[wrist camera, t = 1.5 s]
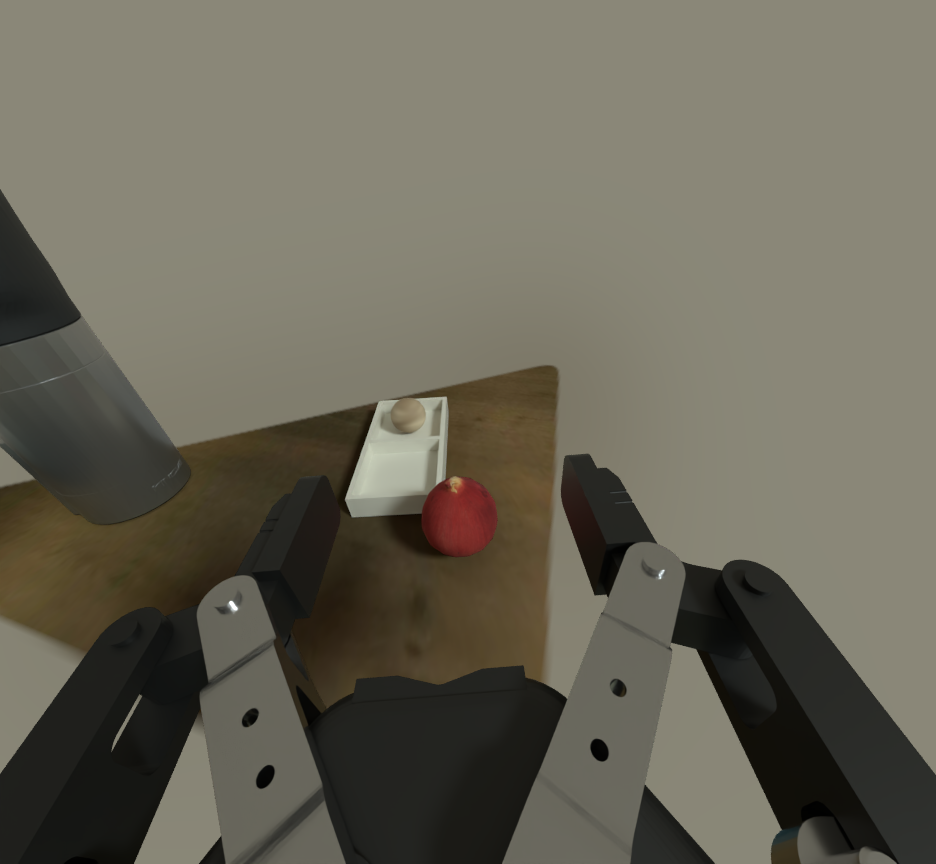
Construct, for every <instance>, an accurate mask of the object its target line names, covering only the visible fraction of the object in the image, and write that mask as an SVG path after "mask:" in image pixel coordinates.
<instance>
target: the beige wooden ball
mask: <svg viewBox="0 0 936 864" xmlns="http://www.w3.org/2000/svg"><path fill="white" fill-rule="evenodd" d="M425 419H426V412H425V409H424V407H423V405H422V404H421V403H420V402H419V401H417V400H416V399H413V398H403V399H401V400H399V401H397V402H396V403H395V404H394V406H393V407H392V410H391V421H392V423H393V425H394V426H395V427H396V428H397V429H398V430H400V431H402V432H406V433H411V432H415V431H417V430H418V429H420V428H421V427H422V426H423V424H424V422H425Z"/></svg>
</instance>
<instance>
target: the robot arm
mask: <svg viewBox="0 0 936 864" xmlns="http://www.w3.org/2000/svg"><path fill="white" fill-rule="evenodd" d="M0 447H1V448H2V449H4V450H5V451H6V452H7V453H8V454H9V455H10V456H11V457H12V458H13V459H14V460H16V461H17V462H18V463H19V464H20V465H21V466H22V467H23V468H24V469H25V470H26V471H28V472H29V473H30V474H31V475H32V476H33V477H34V478H35V479H36V480H37V481H38V482H39V483H40V484H42V485H43V486H44V487H45V488H46V489H47V490H48V491H49V492H50V493H51V494H52V495H54V496H55V497H56V498H57V499H58V500H59V501H60V502H61V503H62V504H63V505H64V506H65V507H67V508H68V509H69V510H70V511H71V512H72V513H73V514H75V515H76V514H81V515H82V516H83V517H84V518H85V519H86V520H87V521H89V522H91V523H94V524H112V523H118V522H122V521H126V520H129V519H132V518H135V517H137V516H140V515H142V514H145V513H147V512H149V511H151V510H152V509H154V508H156V507H158V506H160V505H161V504H163V503H164V502H166V501H167V500H169V499H170V498H171V497H173V496H174V495H175V494H176V493H177V492H178V491H179V490H180V489H181V488H182V487H183V486H184V485H185V484H186V482H187V481H188V479H189V476H190V471H191V470H190V467H189V465H188V464H187V463H186V461H185V460H184V458H183V457H182V455H181V454H180V453H179V451H178V450H177V448H176V447H175V446H174V444H173V443H172V442H171V440H170V438H169V437H168V436H167V434H166V433H165V431H164V430H163V429H162V427H161V426H160V424H159V423H158V421H157V420H156V419H155V417H154V416H153V414H152V413H151V412H150V410H149V409H148V407H147V406H146V405H145V403H144V402H143V400H142V399H141V398H140V396H139V395H138V394H137V392H136V391H135V389H134V388H133V387H132V385H131V384H130V382H129V381H128V380H127V378H126V377H125V375H124V374H123V372H122V371H121V370H120V368H119V367H118V365H117V364H116V363H115V361H114V360H113V358H112V357H111V356H110V354H109V353H108V351H107V350H106V349H105V347H104V346H103V345H102V343H101V342H100V340H99V339H98V338H97V336H96V335H95V333H94V332H93V331H92V329H91V328H90V326H89V325H88V323H87V322H86V321H85V319H84V318H83V317H82V316H81V314H80V312H79V311H78V309H77V308H76V306H75V305H74V304H73V302H72V301H71V299H70V298H69V296H68V295H67V293H66V291H65V289H64V288H63V286H62V285H61V283H60V281H59V280H58V277H57V276H56V274H55V272H54V271H53V269H52V268H51V266H50V265H49V263H48V262H47V260H46V259H45V257H44V256H43V254H42V253H41V251H40V250H39V249H38V247H37V246H36V244H35V243H34V241H33V240H32V238H31V237H30V236H29V234H28V232H27V231H26V229H25V228H24V226H23V224H22V223H21V221H20V220H19V218H18V217H17V215H16V214H15V212H14V210H13V209H12V207H11V206H10V204H9V203H8V201H7V199H6V198H5V196H4V194H3V193H2V191H1V190H0ZM561 498H562V504H563V507H564V510H565V513H566V516H567V518H568V521H569V524H570V527H571V530H572V533H573V536H574V538H575V541H576V544H577V547H578V550H579V552H580V555H581V558H582V561H583V564H584V566H585V569H586V572H587V575H588V578H589V580H590V583H591V586H592V589H593V592H594V595H606V594H607V597H608V601H607V603H606V606H605V608H604V611H603V613H601V615H600V617H599V620H598V622H597V625H596V628H595V630H594V632H593V635H592V638H591V640H590V643H589V645H588V648H587V651H586V653H585V656H584V658H583V661H582V663H581V666H580V669H579V671H578V674H577V676H576V679H575V681H574V684H573V686H572V689H571V691H570V694H569V697H568V699H567V698H566V697H565V696H563V695H562V694H560V693H559V692H558V691H556V690H555V689H553V688H551V687H549V686H547V685H546V684H544V683H541V682H538V681H536V680H533V679H529V678H525V672H524V666H511V667H499V668H486V669H481V670H478V671H476V672H473V673H470V674H468V675H465V676H463V677H460V678H458V679H455V680H452V681H450V682H447V683H445V684H441V685H436V684H431V683H427V682H423V681H418V680H414V679H410V678H405V677H401V676H388V677H376V678H363V679H357V680H356V685H355V690H354V693H352V694H350V695H348V696H346V697H344V698H342V699H340V700H339V701H337V702H336V703H334V704H333V705H331V706H330V707H329V708H328V709H326V707H325V705H324V703H323V701H322V699H321V698H320V696H319V694H318V692H317V690H316V688H315V686H314V684H313V682H312V679H311V677H310V674H309V672H308V669H307V667H306V664H305V662H304V659H303V657H302V655H301V652H300V650H299V647H298V645H297V642H296V640H295V637H294V635H293V633H292V631H291V629H292V626H293V623H294V621H295V619H299V618H310V615H311V612H312V609H313V605H314V602H315V599H316V596H317V593H318V590H319V587H320V584H321V581H322V578H323V574H324V571H325V568H326V565H327V562H328V559H329V556H330V553H331V550H332V546H333V543H334V540H335V537H336V534H337V531H338V528H339V524H340V508H339V505H338V503H337V500H336V498H335V495H334V493H333V490H332V488H331V485H330V483H329V480H328V478H327V477H326V476H325V475H322V476H310V477H301V478H300V479H299V480H298V482H297V484H296V486H295V488H294V490H293V492H292V494H285V495H284V496H283V497H282V498H281V499H280V500H279V501H278V502H277V503H276V504H275V505H274V506H273V507H272V509H271V511H270V512H269V514H268V516H267V518H266V522H264V523H263V525H262V527H261V529H260V533H258V534H257V536H256V538H255V540H254V542H253V543H252V545H251V547H250V549H249V551H248V552H247V554H246V556H245V558H244V560H243V562H242V563H241V565H240V567H239V569H238V571H237V573H236V574H235V576H234V577H232V578H229V579H227V580H225V581H223V582H221V583H220V584H218V585H217V586H215V587H214V588H213V589H212V590H211V591H209V592H208V594H207V595H206V596H205V597H204V598H203V600H202V601H201V603H200V604H198V605H195V606H192V607H190V608H187V609H184V610H181V611H179V612H176V613H173V614H170V615H167V616H164V615H163V614H162V613H161V612H160V611H159V610H158V609H156V608H152V607H145V608H141V609H137V610H134V611H132V612H130V613H128V614H126V615H124V616H123V617H121V618H120V619H118V620H117V621H115V622H114V623H113V624H111V625H110V626H109V627H108V628H107V629H106V630H105V631H104V632H103V633H102V634H101V635H100V636H99V638H98V639H97V640H96V642H95V643H94V644H93V646H92V647H91V649H90V650H89V651H88V653H87V654H86V655H85V657H84V658H83V660H82V661H81V662H80V664H79V665H78V667H77V668H76V669H75V671H74V672H73V674H72V675H71V676H70V678H69V679H68V681H67V682H66V684H65V685H64V686H63V688H62V689H61V690H60V692H59V693H58V695H57V696H56V697H55V699H54V700H53V702H52V703H51V704H50V706H49V707H48V708H47V710H46V711H45V712H44V714H43V715H42V717H41V718H40V720H39V721H38V722H37V724H36V725H35V726H34V728H33V729H32V731H31V732H30V733H29V735H28V736H27V737H26V739H25V740H24V742H23V743H22V744H21V746H20V747H19V749H18V750H17V751H16V753H15V754H14V756H13V757H12V759H11V760H10V761H9V762H8V764H7V765H6V767H5V768H4V769H3V771H2V772H1V774H0V864H134V862H135V860H136V857H137V855H138V853H139V850H140V848H141V845H142V843H143V841H144V839H145V836H146V834H147V832H148V829H149V827H150V824H151V822H152V820H153V818H154V815H155V813H156V811H157V808H158V806H159V804H160V801H161V799H162V797H163V794H164V792H165V789H166V787H167V785H168V782H169V780H170V778H171V775H172V773H173V771H174V768H175V766H176V764H177V761H178V759H179V757H180V754H181V752H182V749H183V747H184V745H185V743H186V740H187V738H188V736H189V733H190V731H191V729H192V726H193V724H194V722H195V719H196V717H197V715H198V712H199V710H200V707H201V712H202V718H203V724H204V730H205V737H206V742H207V749H208V755H209V762H210V767H211V774H212V780H213V787H214V792H215V799H216V805H217V812H218V817H219V824H220V830H221V837H220V838H219V839H218V841H217V842H216V843H215V844H214V845H213V847H212V848H211V849H210V851H209V852H208V853H207V854H206V856H205V857H204V858H203V859H202V861H201V862H200V863H199V864H715V863H714V862H713V861H712V859H711V858H710V857H709V856H708V855H707V854H706V853H705V852H704V850H703V849H702V848H701V847H700V846H699V845H698V844H697V843H696V842H695V840H694V839H693V838H692V837H691V836H690V835H689V834H688V833H687V831H686V830H685V829H684V828H683V827H682V826H681V825H680V823H679V822H678V821H677V820H676V819H675V818H674V817H673V816H672V815H671V813H670V812H669V811H668V810H667V809H666V808H665V807H664V806H663V804H662V803H661V802H660V801H659V800H658V799H657V798H656V796H654V794H653V793H652V792H651V791H650V790H649V789H648V787H646V785H645V780H646V776H647V771H648V766H649V762H650V757H651V752H652V748H653V743H654V738H655V733H656V729H657V724H658V719H659V715H660V710H661V706H662V701H663V696H664V692H665V686H666V682H667V678H668V673H669V668H670V664H671V658H672V649H671V648H670V644H671V643H675V644H678V645H683V646H686V647H691V648H694V649H696V650H697V652H698V654H699V656H700V658H701V660H702V662H703V664H704V666H705V669H706V671H707V672H708V675H709V677H710V679H711V681H712V683H713V685H714V688H715V690H716V692H717V694H718V696H719V698H720V700H721V702H722V704H723V707H724V709H725V711H726V713H727V715H728V717H729V719H730V721H731V724H732V726H733V728H734V730H735V732H736V734H737V736H738V738H739V740H740V743H741V745H742V747H743V749H744V751H745V753H746V755H747V757H748V759H749V761H750V764H751V766H752V768H753V770H754V772H755V774H756V776H757V778H758V780H759V783H760V785H761V787H762V789H763V791H764V793H765V795H766V797H767V799H768V802H769V803H770V806H771V808H772V810H773V812H774V814H775V816H776V818H777V821H778V823H779V825H780V827H781V829H782V830H781V831H780V832H779V833H778V834H777V835H776V836H775V838H774V840H773V843H772V846H771V862H772V864H936V775H935V773H934V772H933V771H932V770H931V768H930V767H929V766H928V764H927V763H926V762H925V761H924V759H923V758H922V757H921V755H920V754H919V753H918V752H917V750H916V749H915V748H914V747H913V745H912V744H911V743H910V741H909V740H908V739H907V737H906V736H905V735H904V734H903V732H902V731H901V730H900V728H899V727H898V726H897V725H896V723H895V722H894V721H893V720H892V718H891V717H890V716H889V714H888V713H887V712H886V710H884V708H883V707H882V705H881V704H880V703H879V702H878V700H877V699H876V698H875V696H874V695H873V694H872V692H871V691H870V690H869V689H868V687H867V686H866V685H865V683H864V682H863V681H862V680H861V678H860V677H859V676H858V674H857V673H856V672H855V670H854V669H853V668H852V667H851V665H850V664H849V663H848V661H847V660H846V659H845V658H844V656H843V655H842V654H841V652H840V651H839V650H838V649H837V647H836V646H835V645H834V643H833V642H832V641H831V640H830V638H828V636H827V634H826V633H825V632H824V631H823V629H822V628H821V627H820V626H819V624H818V623H817V622H816V620H815V619H814V618H813V616H812V615H811V614H810V613H809V611H808V610H807V609H806V608H805V606H804V605H803V604H802V602H801V601H800V600H799V598H798V597H797V596H796V595H795V593H794V592H793V591H792V590H791V588H790V587H789V586H788V584H787V583H786V582H785V581H784V580H783V579H782V578H781V577H780V576H779V575H778V574H776V573H775V572H774V571H772V570H770V569H769V568H767V567H765V566H763V565H761V564H758V563H756V562H752V561H747V560H734V561H730V562H729V563H727V564H726V565H725V566H724V568H723V570H722V571H721V570H716V569H711V568H706V567H701V566H696V565H691V564H687V563H684V562H682V561H680V559H679V558H678V557H677V556H676V555H675V554H674V553H673V552H671V551H670V550H668V549H667V548H665V547H663V546H661V545H658V544H657V542H656V541H655V539H654V537H653V536H652V534H651V532H650V530H649V529H648V527H647V525H646V523H645V522H644V520H643V518H642V517H641V515H640V513H639V511H638V510H637V508H636V506H635V505H634V503H632V499H631V498H630V496H629V494H628V493H627V492H626V489H625V487H624V486H623V484H622V482H621V480H620V479H619V478H618V477H617V476H616V475H615V474H614V473H612V472H611V471H610V470H609V469H607V468H597V467H596V465H595V463H594V462H593V460H592V458H591V456H590V455H589V454H580V455H567V456H565V458H564V465H563V476H562V484H561ZM139 694H140V695H142V698H141V700H140V701H139V703H138V705H137V707H136V709H135V710H134V713H133V714H132V716H131V718H130V720H129V722H128V723H127V725H126V727H125V729H124V730H123V732H122V734H121V736H120V738H119V740H118V741H117V743H116V745H115V747H114V749H113V751H112V745H113V742H114V739H115V737H116V735H117V733H118V731H119V729H120V728H121V726H122V724H123V723H124V721H125V719H126V717H127V715H128V714H129V712H130V710H131V708H132V706H133V705H134V703H135V701H136V699H137V697H138V696H139ZM111 751H112V752H111Z"/></svg>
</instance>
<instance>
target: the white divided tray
mask: <svg viewBox="0 0 936 864" xmlns="http://www.w3.org/2000/svg"><path fill="white" fill-rule="evenodd" d="M416 400H417V401H419V402H420V403H421V404H422V405H423V407H424V409H425V412H426V419H425V422H424V424H423V426H422V427H421V428H420V429H418V430H417V431H415V432H411V433H406V432H402V431H400V430H398V429H397V428H396V427H395V426H394V425H393V423H392V421H391V410H392V407H393V406H394V404H395V403H396V402H397V401H399V400H389V401H379V403H378V406H377V409H376V412H375V415H374V417H373V420H372V423H371V426H370V429H369V432H368V435H367V438H366V440H365V443H364V446H363V449H362V452H361V455H360V458H359V461H358V463H357V466H356V469H355V472H354V475H353V478H352V481H351V484H350V486H349V489H348V492H347V495H346V498H345V501H346V503H347V506H348V508H349V511H350V514H351V516H352V517H367V516H385V515H403V514H421V513H422V509H423V505H424V503H425V501H426V498H427V496H428V494H429V492H430V491H431V490H432V489H433V488H434V487H435V486H436V485H437V484H438V483H440V482H442V481H444V480H445V475H446V454H447V433H448V404H447V397H437V398H421V399H416Z"/></svg>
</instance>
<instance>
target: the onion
mask: <svg viewBox="0 0 936 864" xmlns="http://www.w3.org/2000/svg"><path fill="white" fill-rule="evenodd" d="M497 521H498V520H497V511H496V505H495V501H494V500H493V498H492V497H491V495H490V494H489V492H488V491H487V489H486V488H485V487H484V486H483V485H482V484H480V483H478V482H476V481H474V480H473V479H471V478H467V477H458V476H457V477H456V476H454V477H451V478H448V479H446V480H444V481H442V482H440V483H438V484H437V485H436V486H435V487H434V488H433V489H432V490H431V491H430V492H429V494H428V496H427V498H426V501H425V503H424V505H423V509H422V530H423V532H424V534H425V536H426V538H427V540H428V542H429V544H430V545H431V546H432V547H434V548H435V549H437V550H438V551H440V552H441V553H442V554H444V555H448V556H452V557H465V556H470V555H472V554H475V553H477V552H479V551H481V550H483V549H484V548H485V546H486V545H487V544H488V543H489V542H490V541H491V540H492V538H493V535H494V533H495V530H496V526H497Z"/></svg>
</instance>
